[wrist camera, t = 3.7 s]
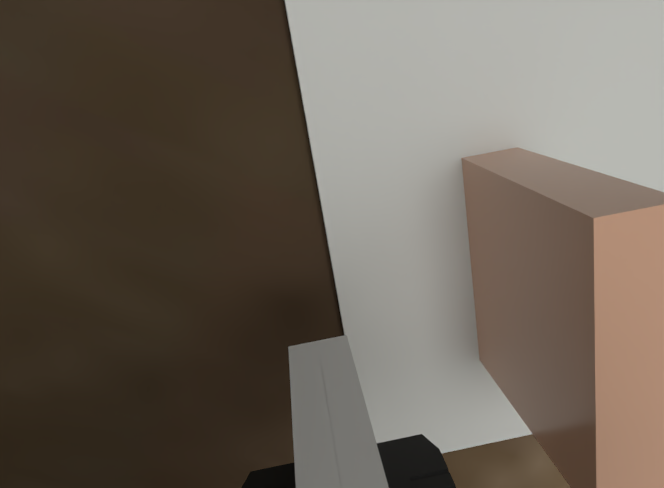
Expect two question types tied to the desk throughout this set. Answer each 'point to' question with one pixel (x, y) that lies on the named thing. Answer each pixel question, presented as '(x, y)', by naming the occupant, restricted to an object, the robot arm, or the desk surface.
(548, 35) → the mat
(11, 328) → the desk surface
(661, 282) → the tile
